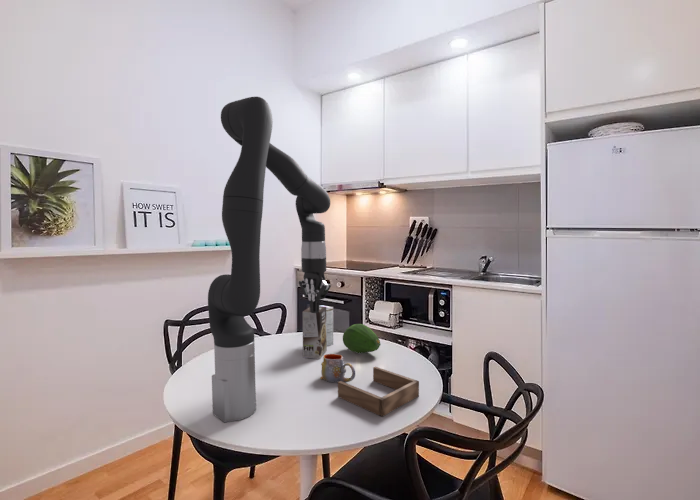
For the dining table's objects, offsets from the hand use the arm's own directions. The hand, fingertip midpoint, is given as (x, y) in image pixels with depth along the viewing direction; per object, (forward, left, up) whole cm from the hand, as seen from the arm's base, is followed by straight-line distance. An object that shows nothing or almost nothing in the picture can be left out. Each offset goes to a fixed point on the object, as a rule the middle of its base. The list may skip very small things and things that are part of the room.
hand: (314, 312), depth 116 cm
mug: (0, -10, -19) cm, 21 cm away
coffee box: (+10, +12, -18) cm, 24 cm away
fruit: (+22, +1, -18) cm, 29 cm away
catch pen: (0, -26, -18) cm, 32 cm away
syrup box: (+19, +18, -18) cm, 32 cm away
